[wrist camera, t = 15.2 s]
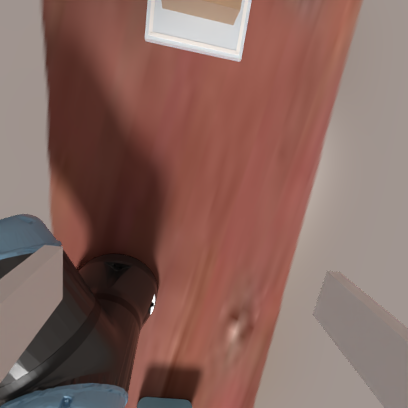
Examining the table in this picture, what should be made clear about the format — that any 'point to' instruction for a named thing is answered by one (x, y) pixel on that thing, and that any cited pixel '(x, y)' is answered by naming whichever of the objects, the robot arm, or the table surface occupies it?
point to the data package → (163, 403)
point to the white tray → (199, 25)
